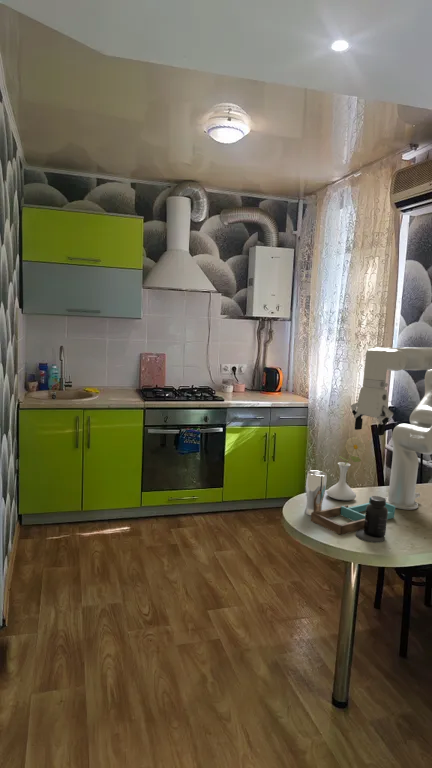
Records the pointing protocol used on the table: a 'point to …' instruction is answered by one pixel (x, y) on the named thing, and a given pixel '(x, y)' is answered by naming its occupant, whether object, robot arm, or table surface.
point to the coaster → (368, 537)
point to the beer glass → (315, 491)
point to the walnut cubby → (340, 529)
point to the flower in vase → (341, 488)
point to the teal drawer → (353, 511)
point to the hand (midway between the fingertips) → (369, 432)
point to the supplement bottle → (376, 517)
